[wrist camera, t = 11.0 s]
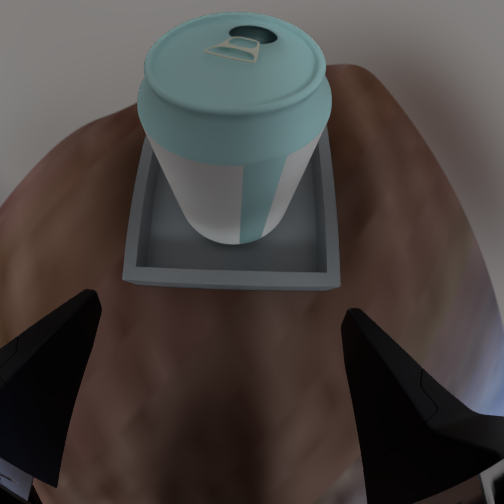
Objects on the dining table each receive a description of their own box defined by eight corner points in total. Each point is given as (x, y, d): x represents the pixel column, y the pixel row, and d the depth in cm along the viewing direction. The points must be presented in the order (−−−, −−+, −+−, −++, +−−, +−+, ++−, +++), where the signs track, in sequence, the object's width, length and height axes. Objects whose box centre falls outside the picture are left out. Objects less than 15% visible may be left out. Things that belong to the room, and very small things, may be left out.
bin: (324, 291, 19) (340, 286, 16) (138, 285, 18) (122, 279, 15) (315, 134, 21) (324, 111, 18) (161, 128, 21) (153, 106, 18)
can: (174, 164, 19) (127, 24, 7) (269, 143, 20) (298, 1, 8) (193, 259, 18) (124, 160, 6) (299, 232, 18) (385, 116, 7)
